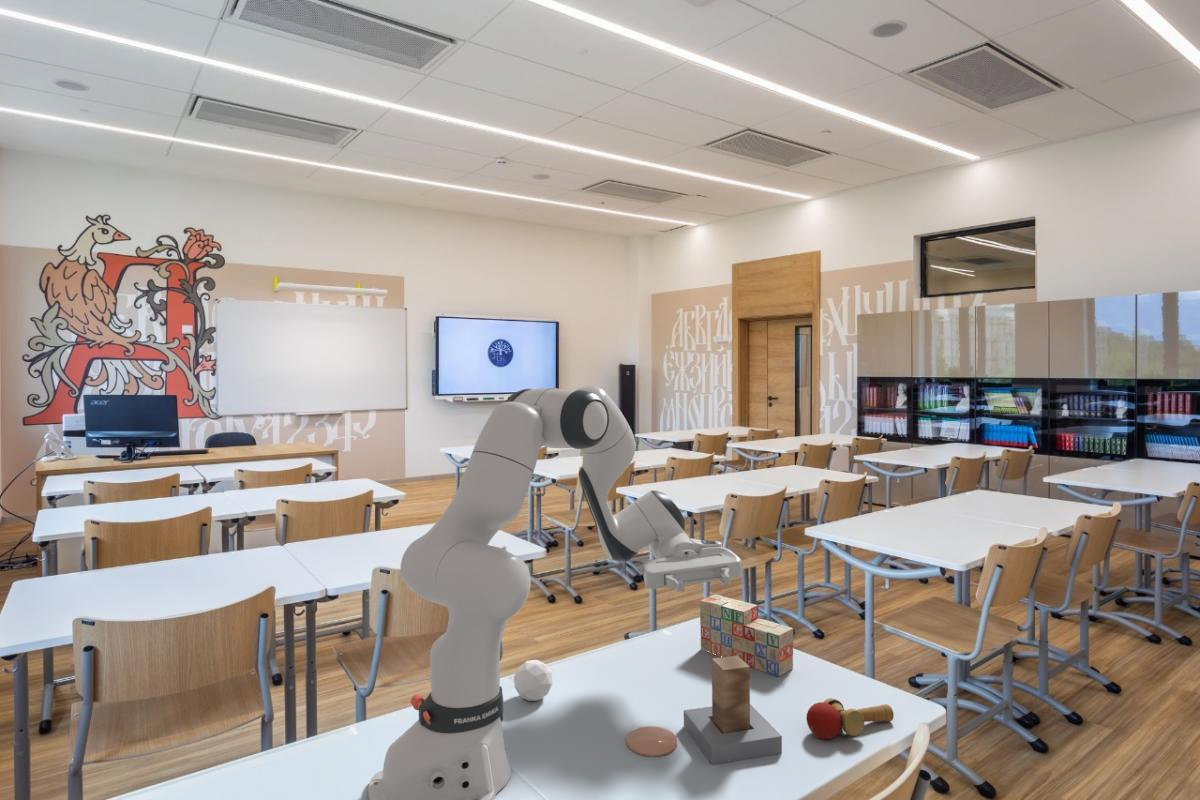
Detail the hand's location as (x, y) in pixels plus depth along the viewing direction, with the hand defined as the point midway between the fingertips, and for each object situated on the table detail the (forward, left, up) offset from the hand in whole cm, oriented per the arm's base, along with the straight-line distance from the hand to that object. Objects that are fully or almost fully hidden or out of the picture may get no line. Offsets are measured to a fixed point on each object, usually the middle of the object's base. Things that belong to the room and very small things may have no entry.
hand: (704, 584), depth 132 cm
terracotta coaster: (-15, -5, -25) cm, 30 cm away
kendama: (+19, -19, -25) cm, 37 cm away
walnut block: (-2, -11, -25) cm, 27 cm away
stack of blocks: (+23, +15, -25) cm, 37 cm away
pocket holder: (-2, -11, -25) cm, 27 cm away
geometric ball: (-27, +21, -25) cm, 43 cm away
